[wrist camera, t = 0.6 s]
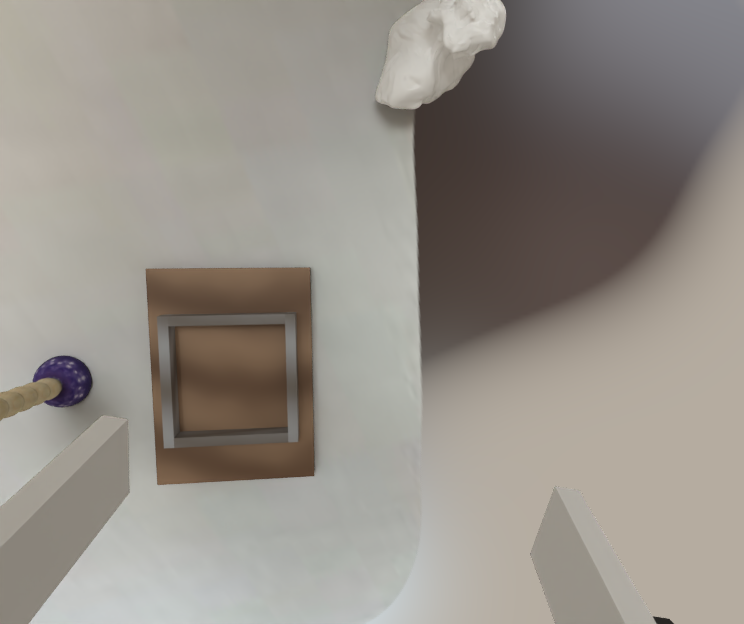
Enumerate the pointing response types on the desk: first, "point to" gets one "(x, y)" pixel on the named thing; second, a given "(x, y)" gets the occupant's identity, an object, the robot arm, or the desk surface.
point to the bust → (436, 48)
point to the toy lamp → (49, 387)
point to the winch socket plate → (231, 373)
